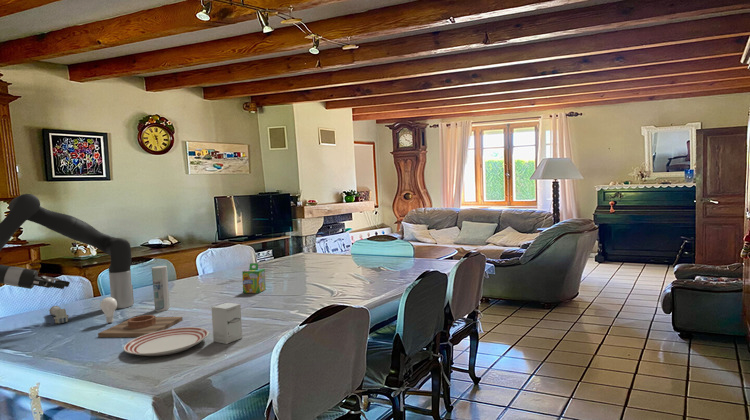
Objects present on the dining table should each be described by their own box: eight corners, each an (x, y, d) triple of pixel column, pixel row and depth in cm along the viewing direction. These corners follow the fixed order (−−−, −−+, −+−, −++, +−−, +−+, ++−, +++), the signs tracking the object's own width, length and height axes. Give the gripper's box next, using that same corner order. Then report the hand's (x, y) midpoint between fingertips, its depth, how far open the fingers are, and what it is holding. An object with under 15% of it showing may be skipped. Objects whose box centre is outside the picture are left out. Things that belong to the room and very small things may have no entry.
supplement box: (227, 344, 169) (224, 308, 168) (212, 341, 173) (210, 306, 172) (243, 338, 175) (241, 303, 174) (229, 335, 179) (226, 301, 178)
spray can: (151, 311, 222) (148, 267, 221) (162, 307, 228) (159, 265, 227) (162, 311, 220) (159, 268, 219) (173, 308, 226) (170, 265, 225)
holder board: (134, 320, 207) (133, 311, 206) (182, 320, 204) (181, 310, 203) (98, 337, 185) (97, 326, 185) (151, 336, 182) (151, 326, 182)
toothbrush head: (60, 304, 228) (68, 306, 209) (61, 318, 228) (69, 321, 209) (47, 307, 225) (53, 308, 206) (48, 321, 224) (55, 324, 205)
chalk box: (242, 293, 251) (241, 265, 250) (250, 289, 260) (248, 262, 259) (259, 293, 249) (257, 264, 249) (266, 289, 258) (264, 261, 258)
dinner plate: (124, 368, 151) (123, 357, 151) (123, 344, 175) (123, 335, 175) (215, 350, 163) (214, 340, 163) (203, 330, 188) (202, 322, 188)
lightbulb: (105, 321, 208) (103, 296, 207) (121, 320, 208) (119, 295, 208) (98, 325, 201) (96, 299, 201) (114, 324, 202) (112, 298, 201)
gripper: (18, 269, 187) (65, 277, 193) (29, 267, 200) (73, 275, 206) (12, 288, 186) (60, 296, 192) (23, 285, 199) (68, 292, 205)
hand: (66, 285), depth 199 cm, fingers open, 8 cm apart
